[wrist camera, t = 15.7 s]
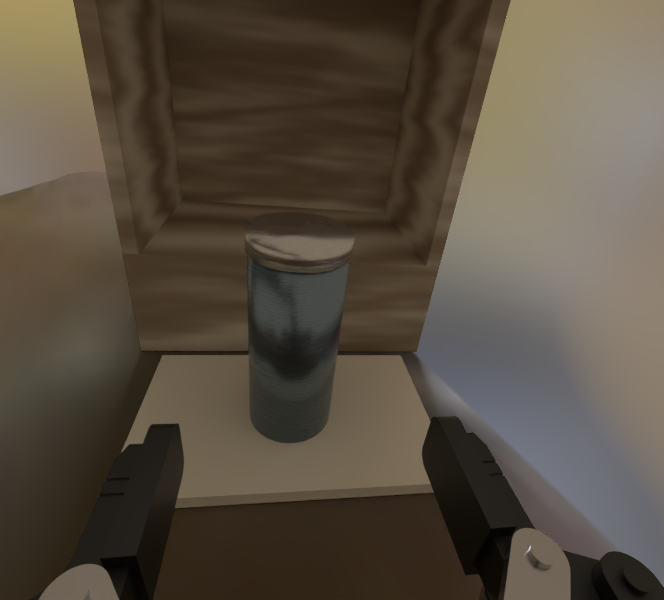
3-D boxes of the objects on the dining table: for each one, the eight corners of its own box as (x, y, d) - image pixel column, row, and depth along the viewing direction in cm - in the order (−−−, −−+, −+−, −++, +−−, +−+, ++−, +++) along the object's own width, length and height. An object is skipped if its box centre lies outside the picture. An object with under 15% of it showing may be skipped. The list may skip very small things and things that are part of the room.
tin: (286, 461, 20) (297, 261, 14) (230, 407, 23) (221, 222, 17) (347, 412, 24) (377, 235, 18) (292, 371, 27) (302, 206, 21)
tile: (453, 491, 21) (457, 482, 20) (103, 512, 18) (99, 502, 17) (398, 363, 30) (400, 355, 30) (163, 363, 27) (162, 354, 27)
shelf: (423, 355, 31) (549, -91, 18) (132, 354, 28) (13, -205, 14) (381, 275, 44) (436, -19, 31) (178, 268, 40) (139, -69, 27)
